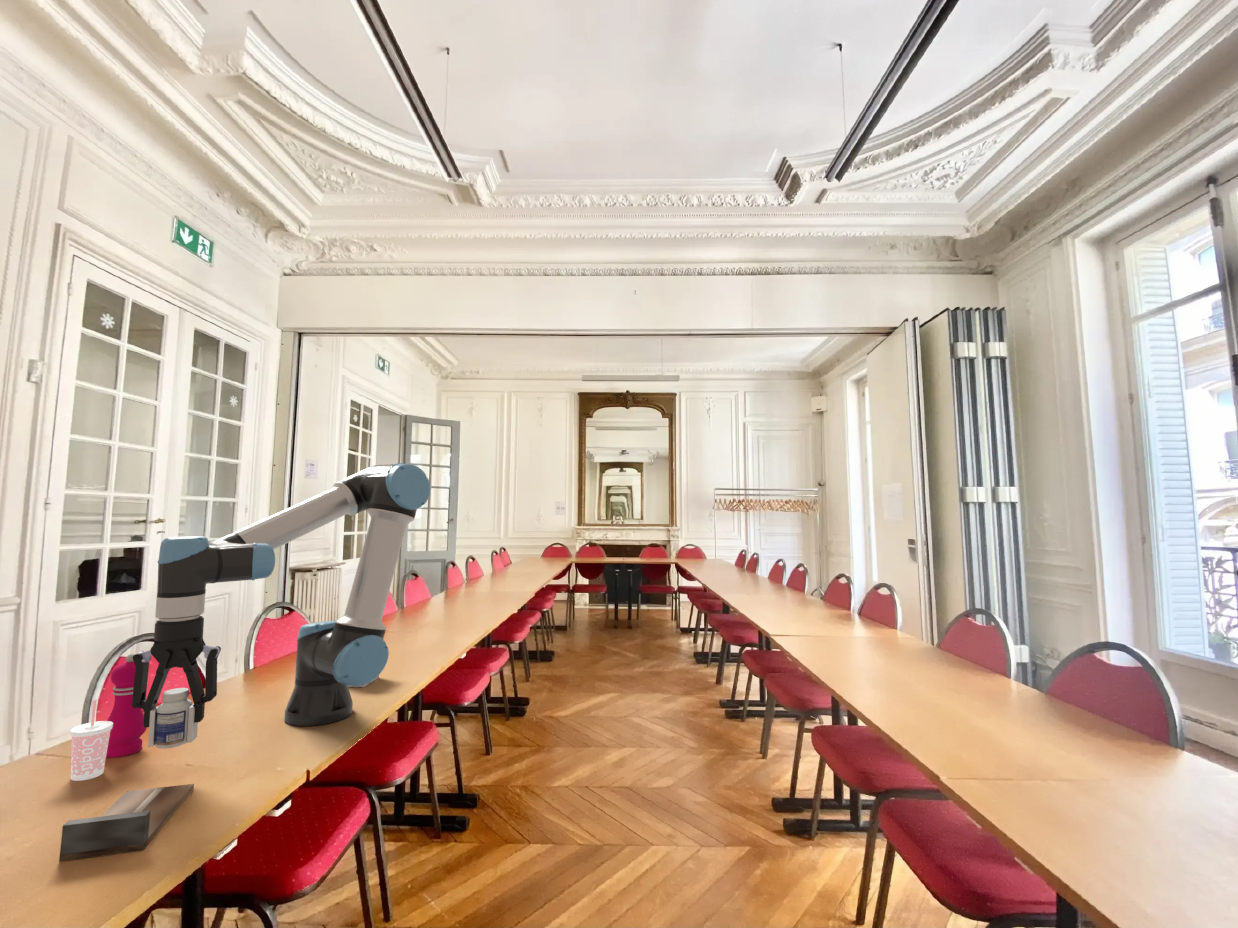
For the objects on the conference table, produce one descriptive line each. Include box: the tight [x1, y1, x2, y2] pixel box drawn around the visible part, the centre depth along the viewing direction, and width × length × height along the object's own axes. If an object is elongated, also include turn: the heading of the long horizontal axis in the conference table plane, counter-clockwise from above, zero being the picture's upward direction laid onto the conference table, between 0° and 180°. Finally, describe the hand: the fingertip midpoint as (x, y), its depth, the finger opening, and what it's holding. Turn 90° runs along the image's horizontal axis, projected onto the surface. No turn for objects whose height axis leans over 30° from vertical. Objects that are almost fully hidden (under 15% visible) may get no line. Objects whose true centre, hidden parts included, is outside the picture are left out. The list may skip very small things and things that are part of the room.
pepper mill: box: [106, 653, 148, 759], centre depth 121 cm, size 7×7×20 cm
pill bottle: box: [154, 687, 193, 749], centre depth 109 cm, size 5×5×10 cm
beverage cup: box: [69, 698, 113, 782], centre depth 110 cm, size 6×6×14 cm
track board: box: [58, 783, 195, 863], centre depth 94 cm, size 10×20×5 cm, turn 19°
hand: (173, 741), depth 109 cm, fingers closed on pill bottle, 5 cm apart
